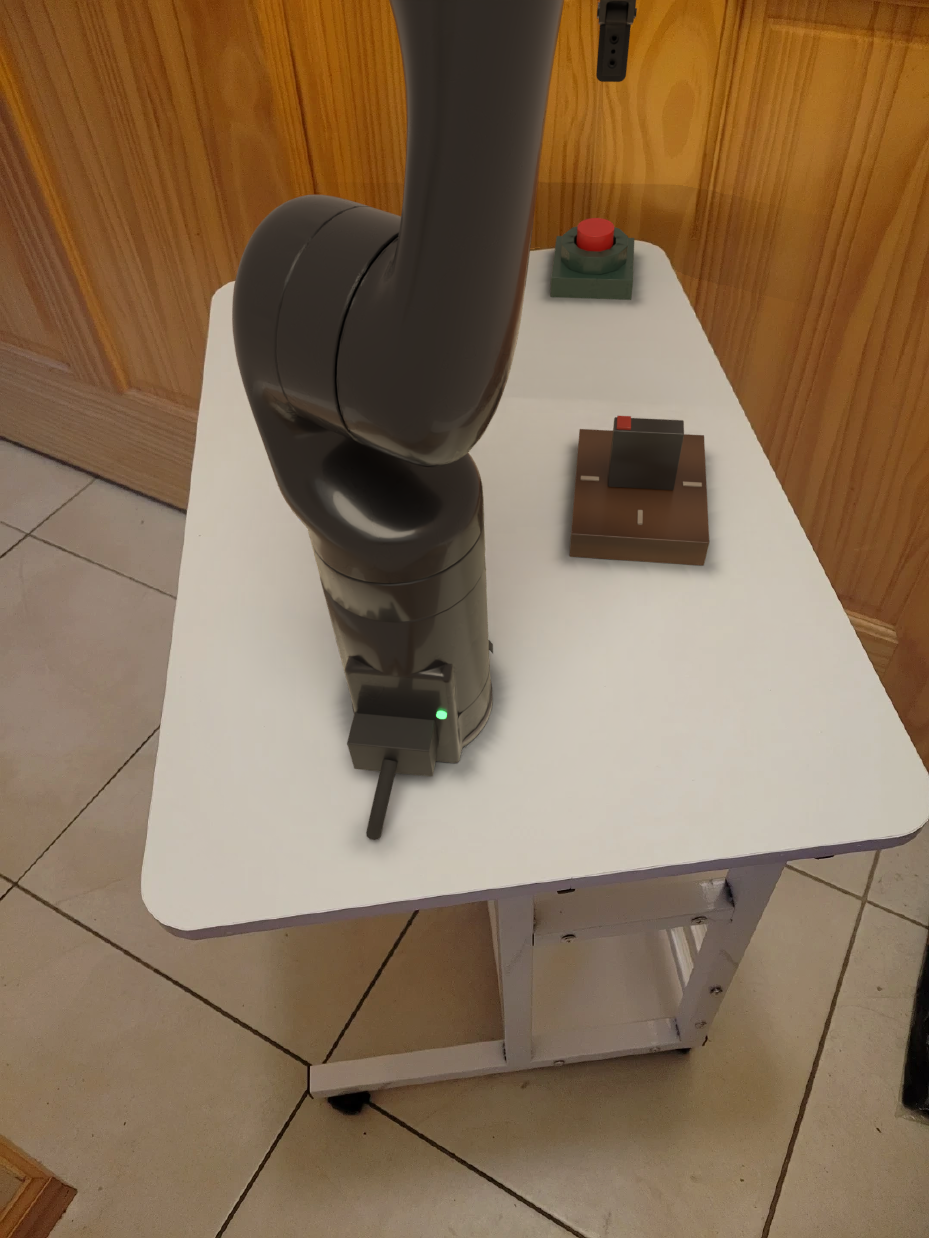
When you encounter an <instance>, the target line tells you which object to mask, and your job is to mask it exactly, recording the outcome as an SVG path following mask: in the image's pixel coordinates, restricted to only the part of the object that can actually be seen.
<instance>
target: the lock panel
mask: <svg viewBox="0 0 929 1238" xmlns="http://www.w3.org/2000/svg"><path fill="white" fill-rule="evenodd" d="M578 430H579V431H578V445H577V454H576V455H577V456H576V467H575V481H574V491H573V504H572V505H573V506H572V516H571V517H572V518H571V528H570V540H569V554H568V555H569V557H571V558H584V559H585V558H586V559H599V560H600V559H601V560H614V561H629V562H630V561H632V562H645V563H656V564H657V563H658V564H659V563H660V564H661V563H662V564H674V565H688V566H705V562H706V558H707V554H708V550H709V546H710V530H709V528H710V527H709V509H708V508H709V506H708V489H707V465H706V447H705V445H706V444H705V435H704V434H687V433H684V438H683V443H682V449H681V454H680V459H679V465H678V470H677V475H676V481H675V486H674V490H660V489H642V488H624V487H608V471H609V462H610V453H611V443H612V434H613V430H606V429H590V428H579V429H578Z"/></svg>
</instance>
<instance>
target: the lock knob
mask: <svg viewBox="0 0 929 1238" xmlns="http://www.w3.org/2000/svg"><path fill="white" fill-rule="evenodd" d="M612 431H613V434H612V443H611V453H610V462H609V471H608V487H624V488H642V489H660V490H674V486H675V481H676V475H677V470H678V465H679V459H680V454H681V449H682V443H683V438H684V434H685V421H684V420H683V419H665V418H663V419H662V418H645V417H644V418H643V417H632V416H631V415H617V416H615V417H614V418H613V425H612Z"/></svg>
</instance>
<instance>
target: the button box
mask: <svg viewBox="0 0 929 1238" xmlns="http://www.w3.org/2000/svg"><path fill="white" fill-rule="evenodd" d="M577 227H578V225H577V226H573V227H571V228H570V229H568V231H566V232H565V233H563V234H562V235H556V238H555V244H554V245H555V246H554V247H555V248H554V252H553V253H554V254H553V260H552V269H551V275H550V298H558V299H559V298H560V299H561V298H562V299H563V298H564V299H593V300H620V301H621V300H622V301H625V300H626V301H632V294H633V286H634V270H635V269H634V265H635V237H629V236H628V235H627V234H626V233H625V232H624V231H623V230H622V229H621V228H618V227H615V226H614V238H613V246H612V247H611V248H610V249H607V250H604V251H586V250H583V249H580V248H578V247H577Z"/></svg>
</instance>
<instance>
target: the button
mask: <svg viewBox="0 0 929 1238" xmlns="http://www.w3.org/2000/svg"><path fill="white" fill-rule="evenodd" d="M577 226H578V227H577V247H578V248H580V249H583V250H586V251H604V250H607V249H610V248H611V247H612V246H613V238H614V227H615V225H614V223H613V222H612V221H610V220H608V219H607V218H602V217H590V218H585V219H583V220H581V221H580V222H579V223H578V224H577Z"/></svg>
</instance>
